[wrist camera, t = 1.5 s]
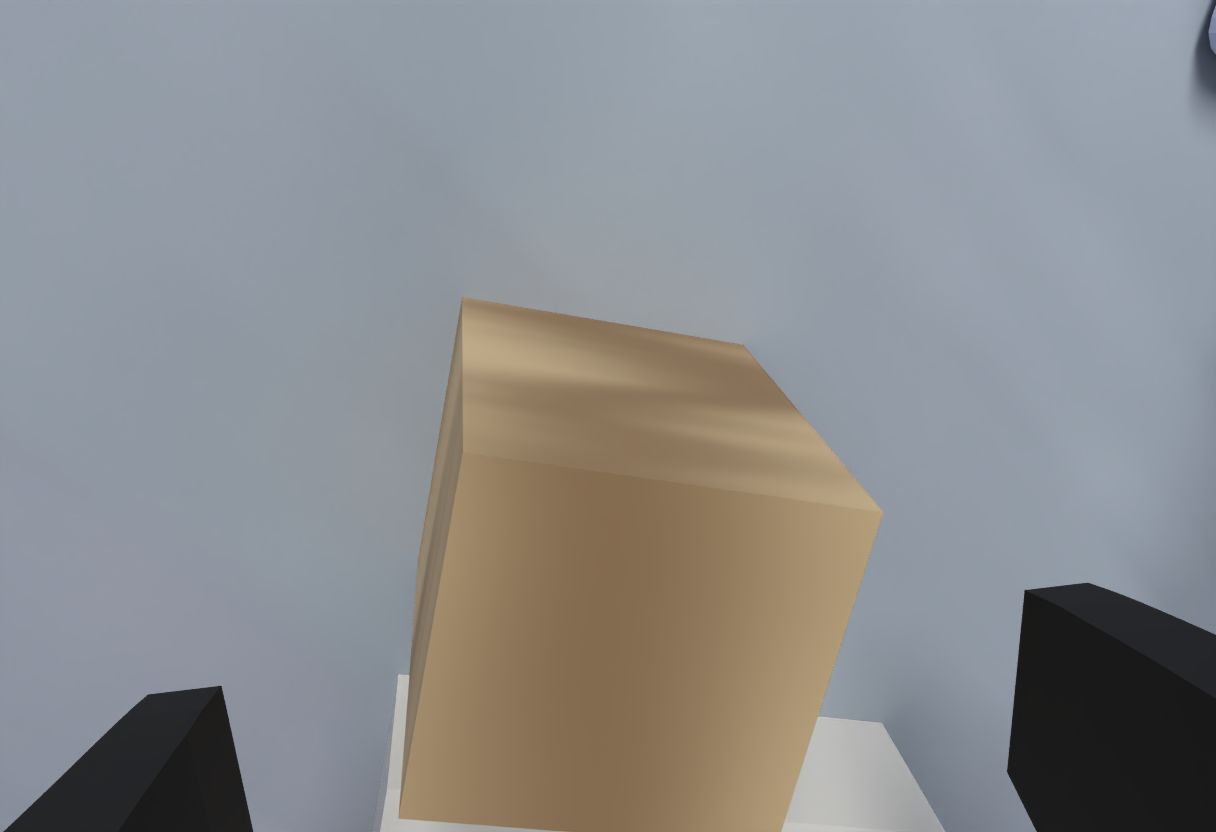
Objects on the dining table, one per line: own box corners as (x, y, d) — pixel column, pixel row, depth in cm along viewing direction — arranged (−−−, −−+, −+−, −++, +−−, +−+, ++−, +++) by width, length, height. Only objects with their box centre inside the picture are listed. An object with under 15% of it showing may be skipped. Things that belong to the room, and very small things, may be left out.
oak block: (742, 344, 15) (883, 513, 10) (679, 589, 17) (775, 848, 12) (462, 296, 15) (463, 452, 9) (418, 557, 16) (398, 819, 11)
